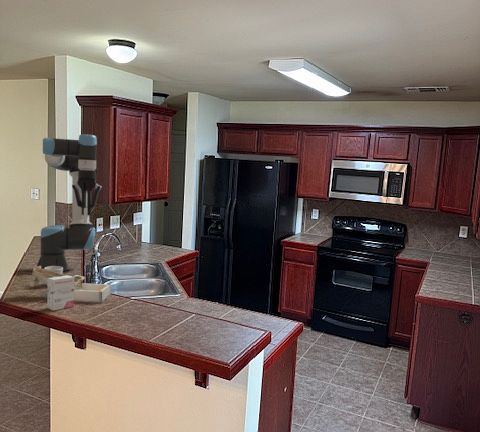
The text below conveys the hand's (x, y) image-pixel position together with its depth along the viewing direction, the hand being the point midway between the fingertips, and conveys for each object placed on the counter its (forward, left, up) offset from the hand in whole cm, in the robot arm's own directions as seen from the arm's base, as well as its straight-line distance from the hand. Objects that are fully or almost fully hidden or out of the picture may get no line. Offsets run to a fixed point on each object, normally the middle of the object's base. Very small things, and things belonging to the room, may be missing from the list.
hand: (86, 222), depth 201 cm
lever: (+13, -8, -27) cm, 31 cm away
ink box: (+32, +2, -30) cm, 44 cm away
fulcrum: (+17, -7, -29) cm, 35 cm away
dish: (+18, +9, -29) cm, 35 cm away
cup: (+1, -15, -30) cm, 33 cm away
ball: (+17, +12, -27) cm, 34 cm away
